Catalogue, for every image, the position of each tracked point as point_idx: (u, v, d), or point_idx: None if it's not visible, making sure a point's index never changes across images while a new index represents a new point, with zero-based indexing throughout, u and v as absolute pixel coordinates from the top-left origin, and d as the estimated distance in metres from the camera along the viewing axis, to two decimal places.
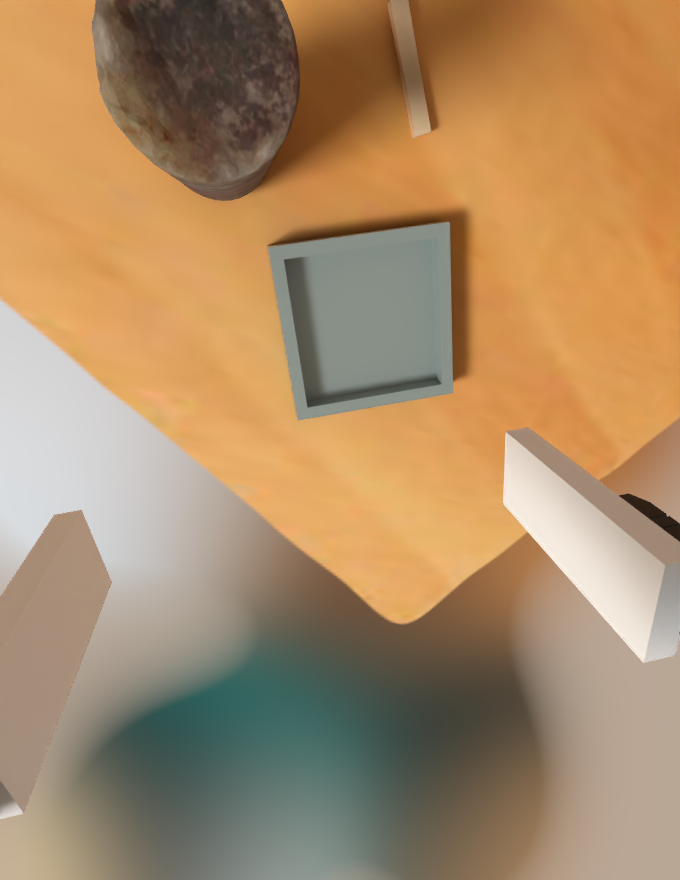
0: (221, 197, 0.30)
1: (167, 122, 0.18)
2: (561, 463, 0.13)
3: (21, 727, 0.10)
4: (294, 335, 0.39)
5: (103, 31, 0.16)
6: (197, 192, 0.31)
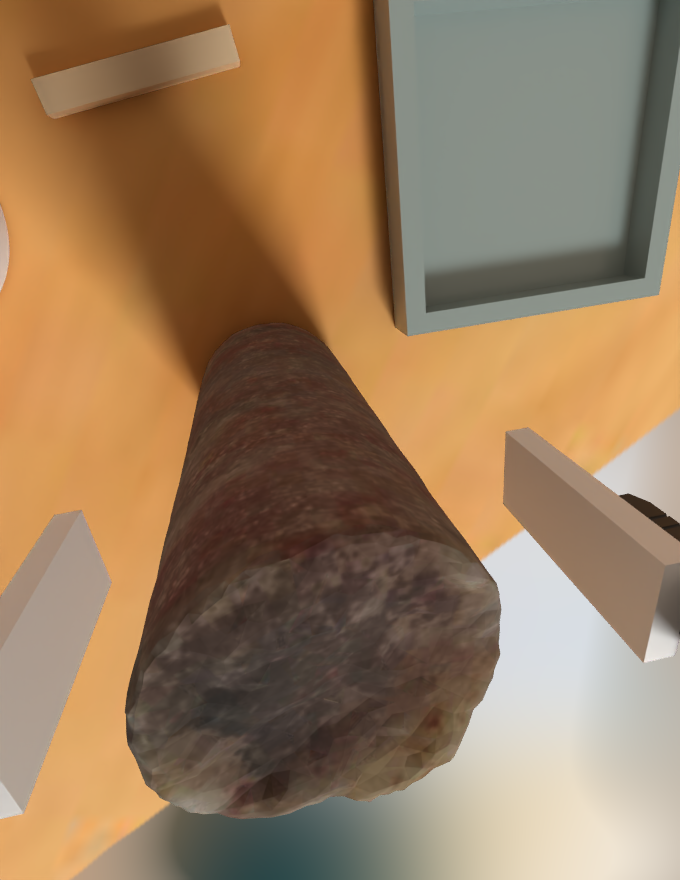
0: None
1: (411, 722, 0.10)
2: (561, 463, 0.13)
3: (21, 727, 0.10)
4: (533, 298, 0.25)
5: (295, 810, 0.10)
6: None
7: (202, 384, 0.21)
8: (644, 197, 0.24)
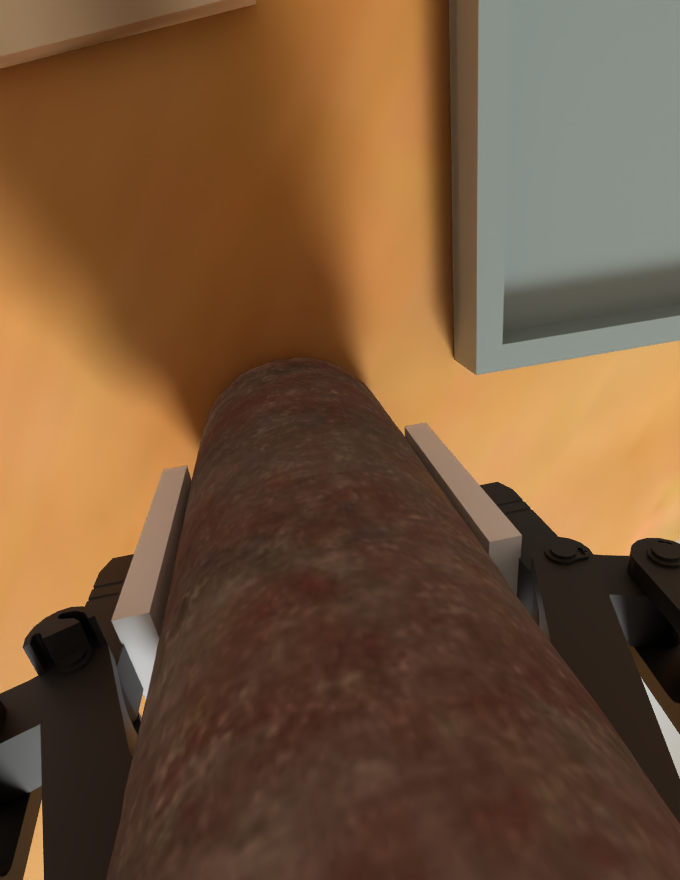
0: None
1: None
2: (440, 454, 0.14)
3: None
4: (644, 323, 0.18)
5: None
6: None
7: (200, 449, 0.15)
8: None
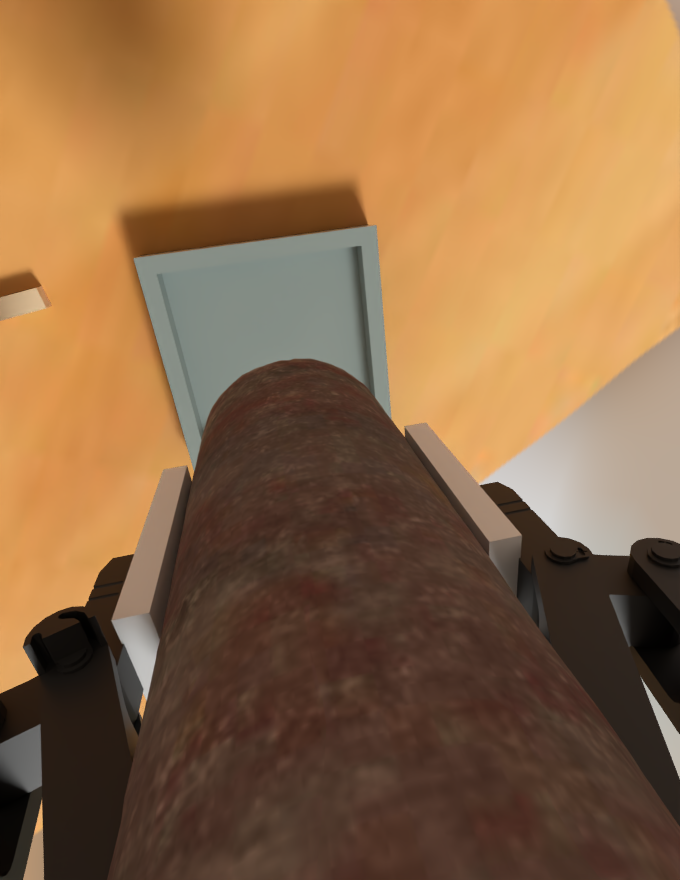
0: None
1: None
2: (440, 454, 0.14)
3: None
4: None
5: None
6: None
7: (200, 451, 0.15)
8: (370, 372, 0.33)
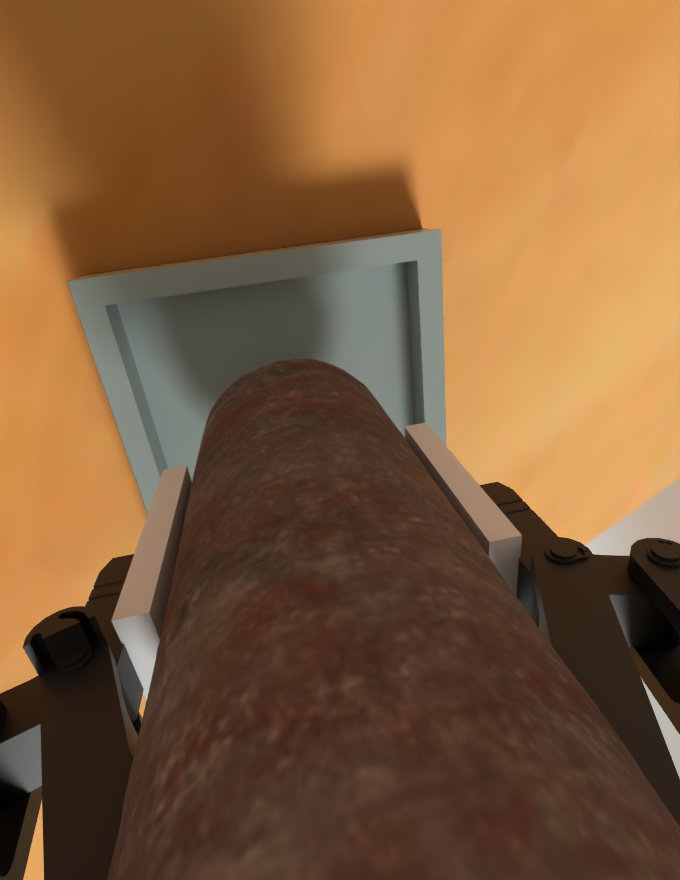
0: None
1: None
2: (440, 454, 0.14)
3: None
4: None
5: None
6: None
7: (200, 451, 0.15)
8: None
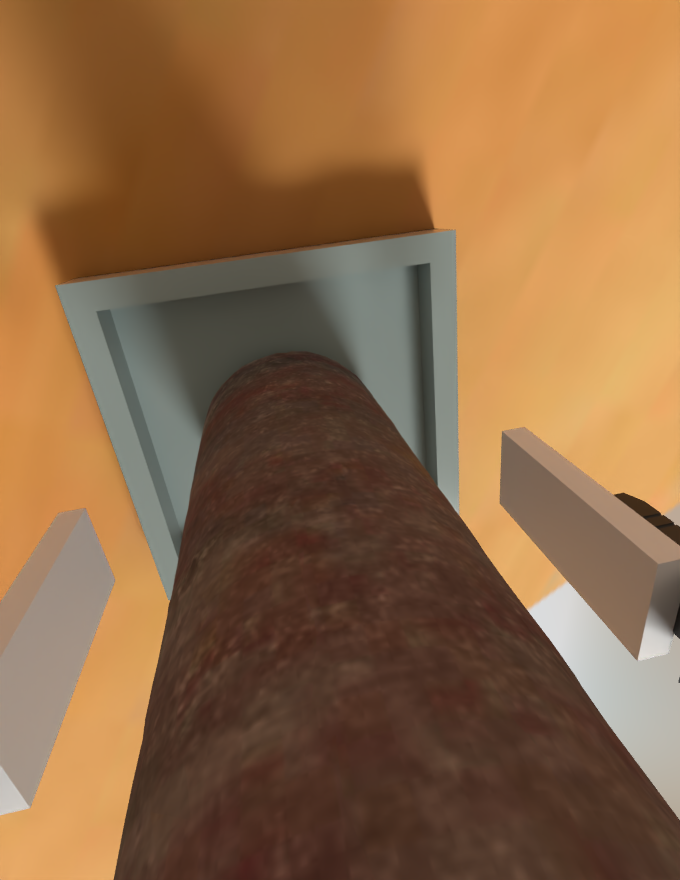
0: None
1: None
2: (556, 462, 0.13)
3: (27, 722, 0.10)
4: None
5: None
6: None
7: (203, 436, 0.16)
8: (430, 448, 0.22)
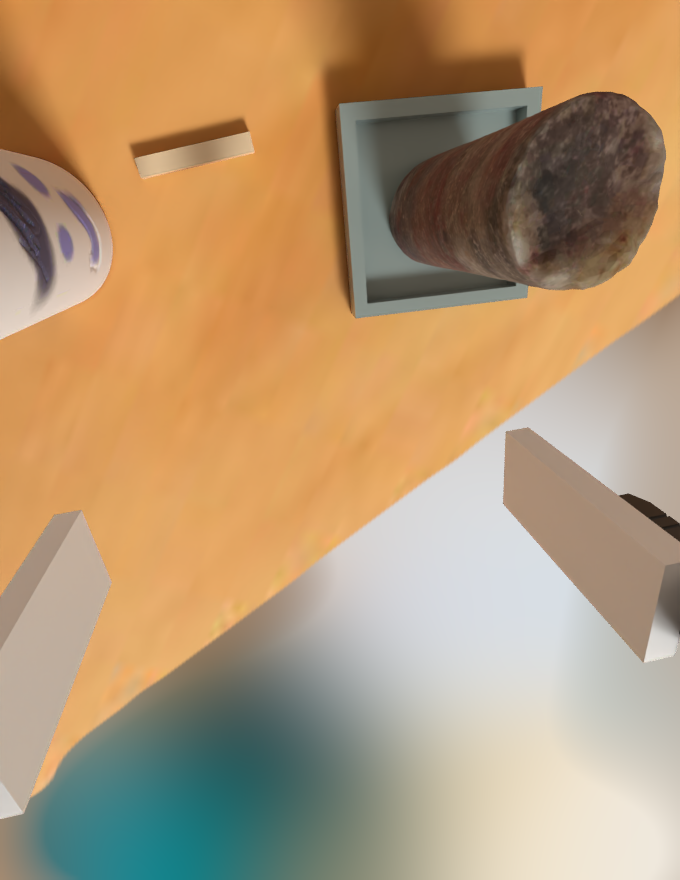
0: None
1: (613, 236, 0.20)
2: (561, 463, 0.13)
3: (21, 727, 0.10)
4: (439, 296, 0.38)
5: (553, 278, 0.20)
6: None
7: (411, 182, 0.32)
8: None
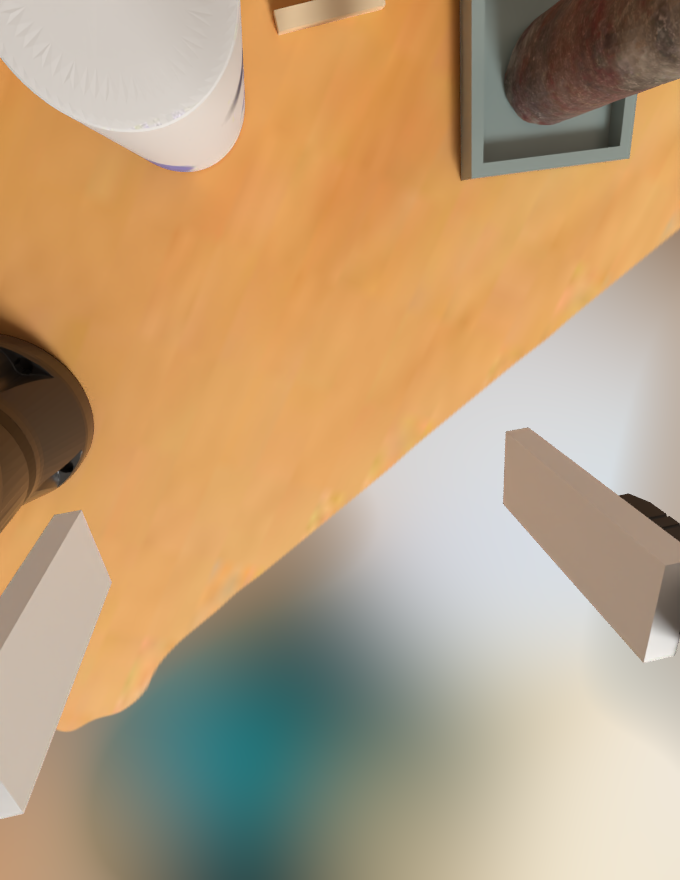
0: None
1: None
2: (561, 463, 0.13)
3: (21, 727, 0.10)
4: (549, 156, 0.40)
5: None
6: None
7: (543, 22, 0.33)
8: None
